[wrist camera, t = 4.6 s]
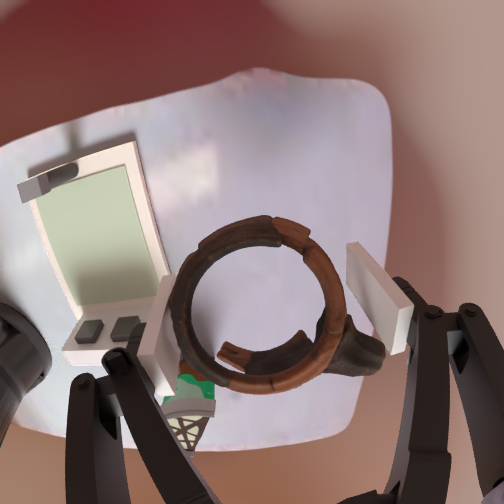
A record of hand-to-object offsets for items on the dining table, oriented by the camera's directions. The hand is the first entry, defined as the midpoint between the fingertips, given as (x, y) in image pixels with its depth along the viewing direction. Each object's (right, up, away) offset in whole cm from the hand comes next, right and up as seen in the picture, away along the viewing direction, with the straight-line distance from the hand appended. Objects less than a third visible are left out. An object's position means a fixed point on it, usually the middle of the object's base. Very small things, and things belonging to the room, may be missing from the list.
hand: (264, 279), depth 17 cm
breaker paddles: (-16, -6, +11) cm, 20 cm away
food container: (-10, -15, +21) cm, 28 cm away
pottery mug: (+1, -1, +1) cm, 2 cm away
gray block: (-18, +10, +7) cm, 22 cm away
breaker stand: (-17, +2, +12) cm, 21 cm away
